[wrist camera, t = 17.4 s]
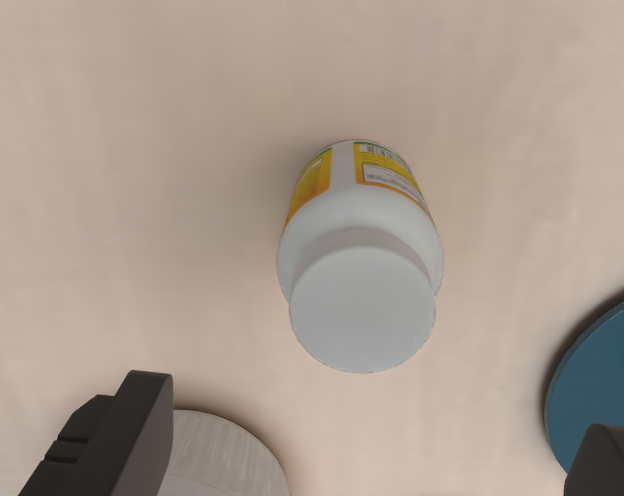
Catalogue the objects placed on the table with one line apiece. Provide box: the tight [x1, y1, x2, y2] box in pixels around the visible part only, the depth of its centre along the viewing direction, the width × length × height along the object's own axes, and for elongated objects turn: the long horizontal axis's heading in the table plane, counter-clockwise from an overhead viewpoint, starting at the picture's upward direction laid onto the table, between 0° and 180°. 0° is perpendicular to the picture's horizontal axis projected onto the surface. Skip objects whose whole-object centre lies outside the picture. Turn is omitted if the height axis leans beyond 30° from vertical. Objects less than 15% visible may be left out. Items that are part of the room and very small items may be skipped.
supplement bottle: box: [277, 140, 444, 373], centre depth 18 cm, size 5×5×10 cm
